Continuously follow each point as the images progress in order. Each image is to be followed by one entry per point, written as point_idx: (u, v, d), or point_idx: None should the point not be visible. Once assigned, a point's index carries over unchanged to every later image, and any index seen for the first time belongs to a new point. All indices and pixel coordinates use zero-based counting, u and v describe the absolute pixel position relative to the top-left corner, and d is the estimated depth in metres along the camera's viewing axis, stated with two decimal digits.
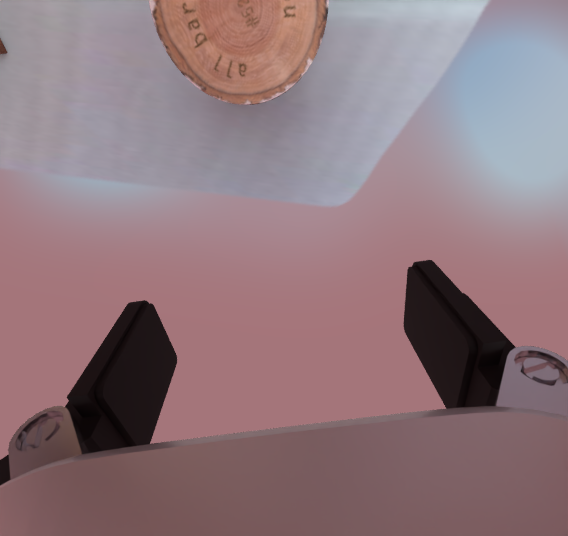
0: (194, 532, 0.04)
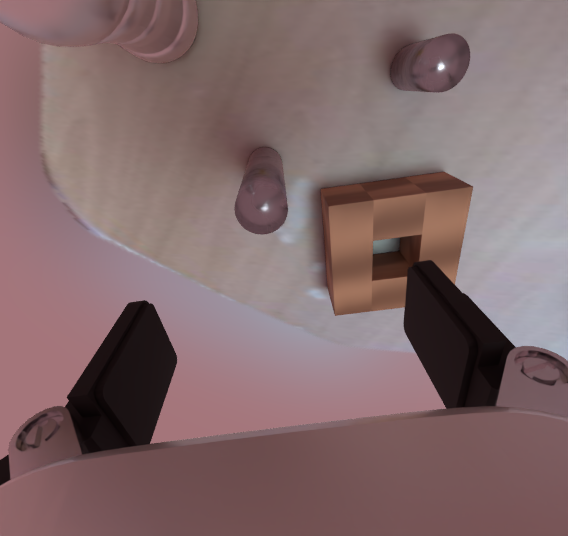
0: (194, 532, 0.04)
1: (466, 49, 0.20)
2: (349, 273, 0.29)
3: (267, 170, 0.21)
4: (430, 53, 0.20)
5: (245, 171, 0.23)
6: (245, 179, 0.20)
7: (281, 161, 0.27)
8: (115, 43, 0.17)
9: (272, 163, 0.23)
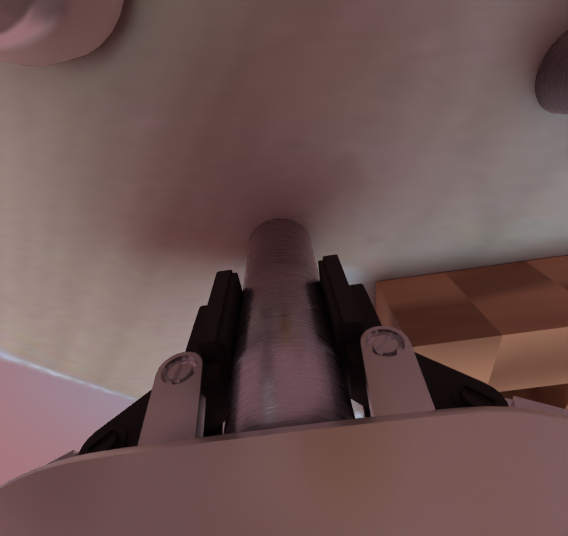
0: (194, 532, 0.04)
1: None
2: None
3: (302, 349, 0.08)
4: None
5: (243, 305, 0.10)
6: (243, 391, 0.07)
7: None
8: None
9: (305, 291, 0.10)
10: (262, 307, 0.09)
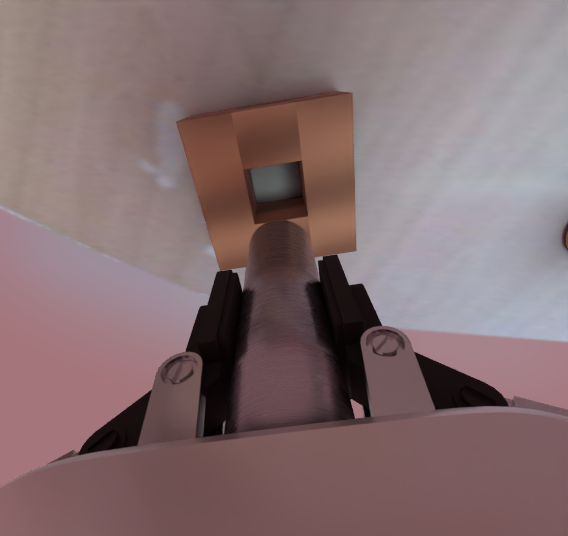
0: (194, 532, 0.04)
1: None
2: (224, 214, 0.24)
3: (302, 351, 0.08)
4: None
5: (243, 306, 0.10)
6: (243, 392, 0.07)
7: None
8: None
9: (305, 292, 0.10)
10: (262, 308, 0.09)
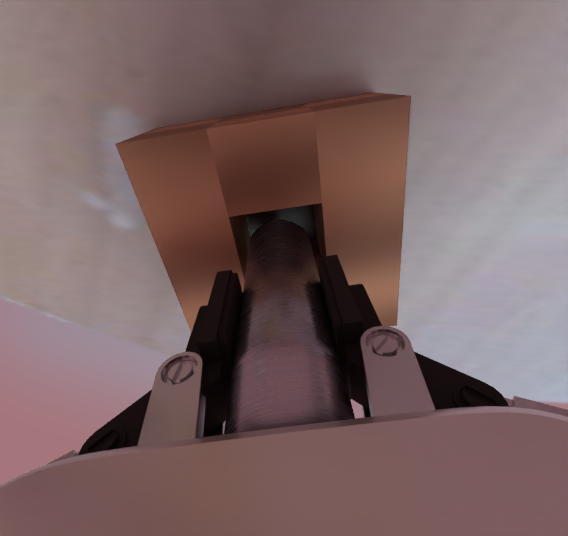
0: (194, 532, 0.04)
1: None
2: (201, 279, 0.16)
3: (302, 351, 0.08)
4: None
5: (243, 306, 0.10)
6: (244, 392, 0.07)
7: None
8: None
9: (305, 292, 0.10)
10: (262, 308, 0.09)
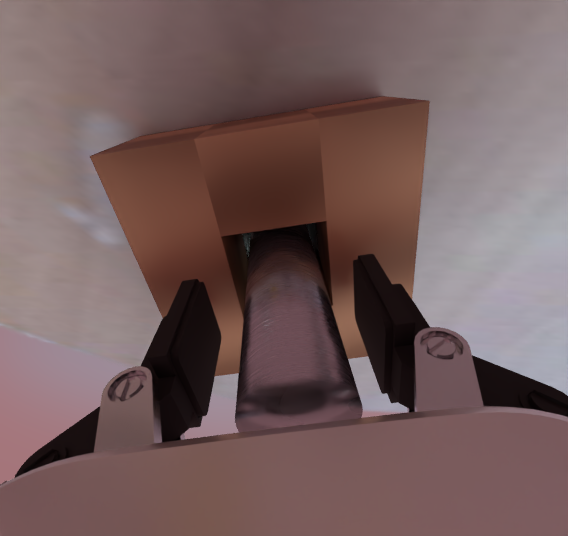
0: (194, 532, 0.04)
1: None
2: None
3: (301, 291, 0.10)
4: None
5: (251, 267, 0.13)
6: (256, 319, 0.09)
7: None
8: None
9: (302, 254, 0.12)
10: (267, 265, 0.11)
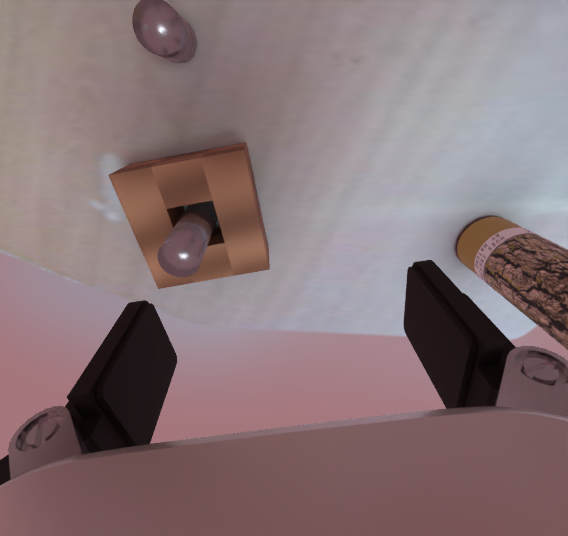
0: (194, 532, 0.04)
1: (171, 11, 0.21)
2: (155, 243, 0.30)
3: (189, 224, 0.26)
4: (138, 16, 0.21)
5: None
6: (170, 233, 0.25)
7: None
8: None
9: (199, 214, 0.28)
10: (182, 218, 0.27)
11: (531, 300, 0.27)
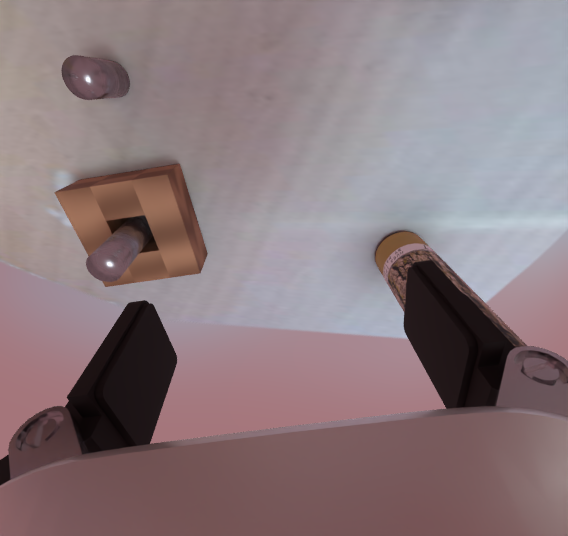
0: (194, 532, 0.04)
1: (93, 67, 0.26)
2: None
3: (118, 237, 0.31)
4: (66, 70, 0.26)
5: None
6: None
7: None
8: None
9: (133, 227, 0.33)
10: (116, 230, 0.32)
11: None
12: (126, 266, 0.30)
